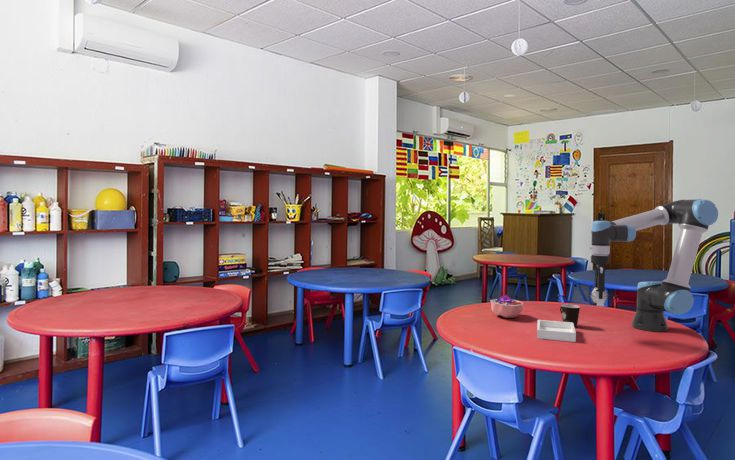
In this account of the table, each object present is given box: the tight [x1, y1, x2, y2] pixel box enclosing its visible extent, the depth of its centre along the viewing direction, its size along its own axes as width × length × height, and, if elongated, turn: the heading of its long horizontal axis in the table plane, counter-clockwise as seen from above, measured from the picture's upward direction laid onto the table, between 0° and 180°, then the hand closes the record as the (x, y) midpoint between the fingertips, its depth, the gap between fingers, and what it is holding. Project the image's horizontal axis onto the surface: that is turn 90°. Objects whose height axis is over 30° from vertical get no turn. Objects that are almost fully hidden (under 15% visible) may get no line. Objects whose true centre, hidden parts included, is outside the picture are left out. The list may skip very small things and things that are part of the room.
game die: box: [588, 286, 610, 306], centre depth 221 cm, size 9×8×10 cm
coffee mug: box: [559, 303, 581, 329], centre depth 244 cm, size 12×9×10 cm
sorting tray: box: [536, 319, 577, 343], centre depth 226 cm, size 16×21×4 cm
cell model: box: [489, 294, 524, 319], centre depth 262 cm, size 17×20×11 cm
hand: (598, 303), depth 221 cm, fingers closed on game die, 10 cm apart
